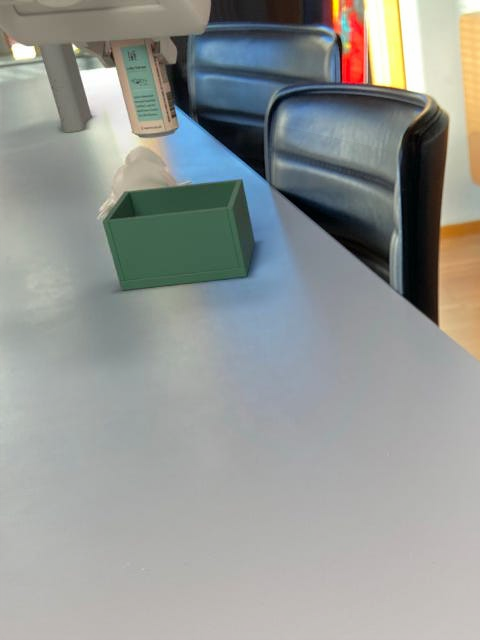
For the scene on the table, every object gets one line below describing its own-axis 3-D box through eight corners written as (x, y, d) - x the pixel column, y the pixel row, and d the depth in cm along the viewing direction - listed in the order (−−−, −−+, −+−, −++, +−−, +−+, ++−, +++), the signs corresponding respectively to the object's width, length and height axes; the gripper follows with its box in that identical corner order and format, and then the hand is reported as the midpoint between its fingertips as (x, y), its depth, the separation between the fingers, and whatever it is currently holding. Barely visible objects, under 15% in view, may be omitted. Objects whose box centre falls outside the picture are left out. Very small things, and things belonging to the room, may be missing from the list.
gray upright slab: (69, 118, 205) (27, -29, 190) (92, 115, 206) (52, -32, 191) (58, 133, 191) (12, -25, 176) (83, 130, 192) (39, -27, 177)
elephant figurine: (105, 227, 130) (84, 152, 125) (200, 214, 132) (183, 139, 126) (100, 246, 122) (78, 167, 117) (201, 232, 124) (183, 153, 119)
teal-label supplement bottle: (168, 127, 106) (136, -8, 99) (188, 132, 103) (157, -8, 96) (125, 136, 104) (89, -2, 97) (145, 141, 101) (109, -1, 94)
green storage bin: (121, 290, 107) (102, 221, 103) (141, 255, 118) (124, 191, 114) (247, 276, 108) (232, 207, 104) (255, 243, 118) (242, 178, 114)
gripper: (172, -97, 85) (243, 24, 98) (-40, -76, 89) (56, 37, 103) (162, -29, 84) (235, 83, 98) (-51, -11, 89) (47, 94, 102)
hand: (141, 60), depth 100 cm, fingers closed on teal-label supplement bottle, 5 cm apart
